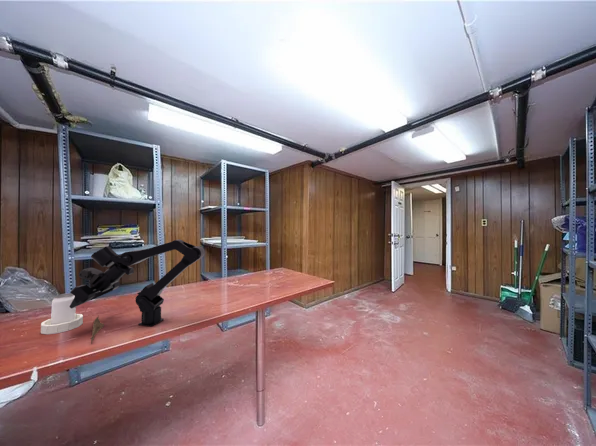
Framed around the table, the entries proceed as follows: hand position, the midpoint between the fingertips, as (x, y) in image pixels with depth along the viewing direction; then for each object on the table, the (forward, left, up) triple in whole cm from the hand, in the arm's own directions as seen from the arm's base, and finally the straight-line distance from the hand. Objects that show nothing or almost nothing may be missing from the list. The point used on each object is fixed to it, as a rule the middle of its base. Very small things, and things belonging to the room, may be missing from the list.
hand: (80, 303), depth 85 cm
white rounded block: (+5, +2, -9) cm, 11 cm away
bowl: (+6, +2, -9) cm, 11 cm away
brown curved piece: (-13, +4, -9) cm, 17 cm away
